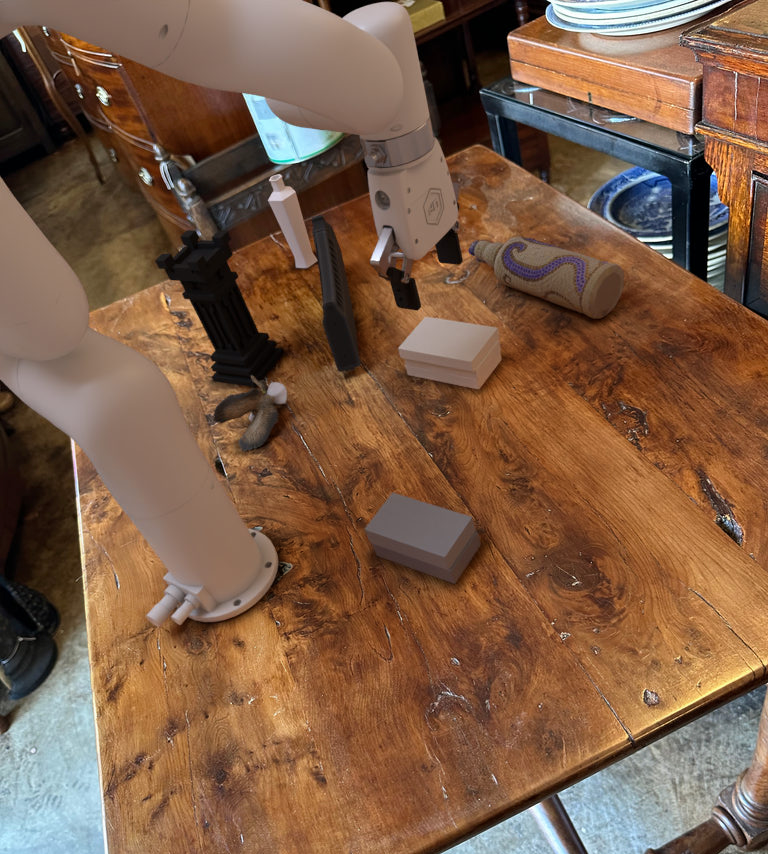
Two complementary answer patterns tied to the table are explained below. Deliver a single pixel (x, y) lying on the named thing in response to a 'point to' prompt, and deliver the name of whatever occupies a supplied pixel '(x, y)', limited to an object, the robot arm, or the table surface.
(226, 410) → the eagle figurine
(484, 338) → the white book
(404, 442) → the table surface
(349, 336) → the magazine
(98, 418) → the robot arm
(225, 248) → the chess piece
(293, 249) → the perfume bottle
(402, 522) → the grey stack
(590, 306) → the decorative bottle
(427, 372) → the white stack
